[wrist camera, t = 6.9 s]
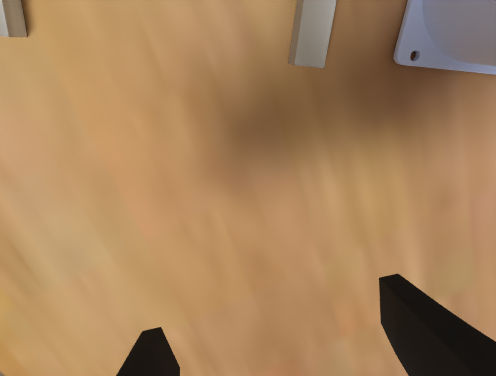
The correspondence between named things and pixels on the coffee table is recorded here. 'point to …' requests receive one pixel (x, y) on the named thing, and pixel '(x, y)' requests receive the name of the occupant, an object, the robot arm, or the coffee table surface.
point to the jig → (302, 44)
